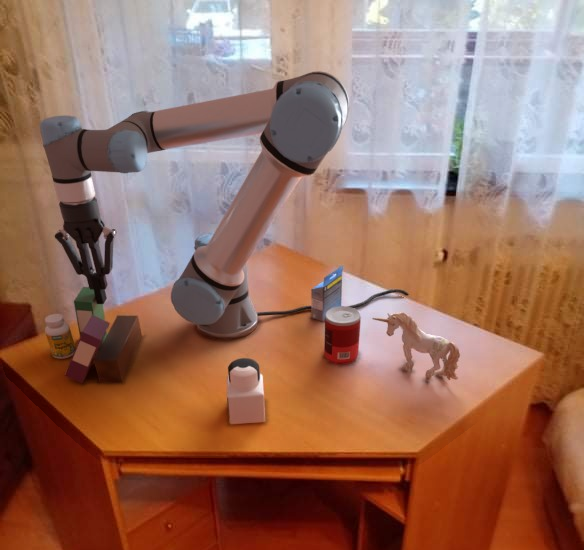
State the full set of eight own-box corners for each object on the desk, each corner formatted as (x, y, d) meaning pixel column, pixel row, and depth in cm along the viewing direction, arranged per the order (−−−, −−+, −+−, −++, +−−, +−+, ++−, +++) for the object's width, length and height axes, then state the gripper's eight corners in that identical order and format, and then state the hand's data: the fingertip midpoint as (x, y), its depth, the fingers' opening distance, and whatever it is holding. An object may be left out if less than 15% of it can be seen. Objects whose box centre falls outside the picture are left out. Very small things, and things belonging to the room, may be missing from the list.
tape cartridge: (329, 304, 157) (330, 260, 149) (341, 308, 155) (343, 264, 147) (310, 318, 151) (310, 273, 144) (323, 322, 149) (324, 277, 142)
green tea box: (107, 335, 145) (100, 287, 137) (99, 351, 140) (91, 302, 132) (91, 334, 145) (83, 286, 137) (82, 350, 139) (73, 301, 132)
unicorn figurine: (376, 353, 137) (380, 302, 129) (461, 370, 132) (471, 318, 124) (367, 370, 132) (372, 318, 124) (455, 389, 126) (466, 335, 118)
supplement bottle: (72, 344, 142) (62, 309, 136) (79, 354, 138) (69, 319, 133) (49, 351, 140) (38, 316, 134) (56, 362, 136) (45, 326, 130)
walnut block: (142, 337, 145) (137, 315, 141) (122, 382, 129) (117, 360, 126) (121, 336, 145) (117, 315, 141) (99, 382, 130) (93, 360, 126)
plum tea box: (91, 365, 135) (110, 322, 128) (82, 383, 129) (100, 340, 122) (74, 358, 134) (92, 314, 127) (64, 376, 128) (82, 331, 121)
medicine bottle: (229, 403, 123) (224, 355, 116) (263, 400, 124) (261, 353, 116) (229, 425, 118) (224, 376, 110) (265, 422, 118) (262, 373, 111)
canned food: (364, 355, 137) (367, 313, 130) (343, 369, 132) (345, 327, 126) (339, 343, 141) (341, 302, 135) (317, 356, 137) (317, 315, 130)
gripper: (113, 192, 124) (134, 293, 138) (52, 193, 124) (79, 293, 139) (103, 205, 118) (126, 309, 132) (39, 205, 118) (68, 309, 133)
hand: (102, 301), depth 135 cm, fingers closed
